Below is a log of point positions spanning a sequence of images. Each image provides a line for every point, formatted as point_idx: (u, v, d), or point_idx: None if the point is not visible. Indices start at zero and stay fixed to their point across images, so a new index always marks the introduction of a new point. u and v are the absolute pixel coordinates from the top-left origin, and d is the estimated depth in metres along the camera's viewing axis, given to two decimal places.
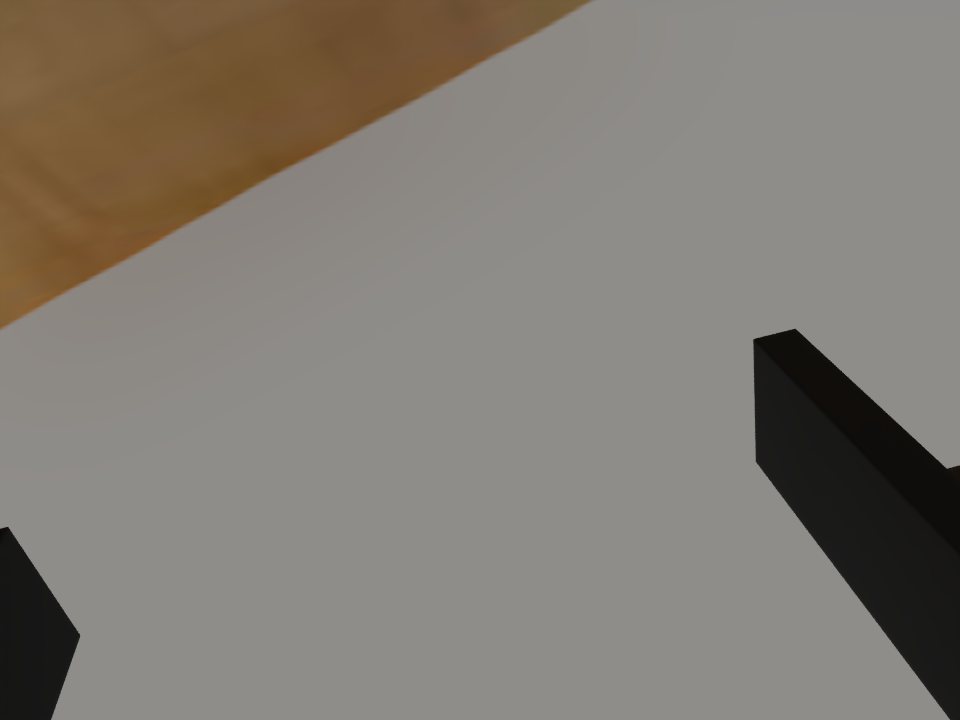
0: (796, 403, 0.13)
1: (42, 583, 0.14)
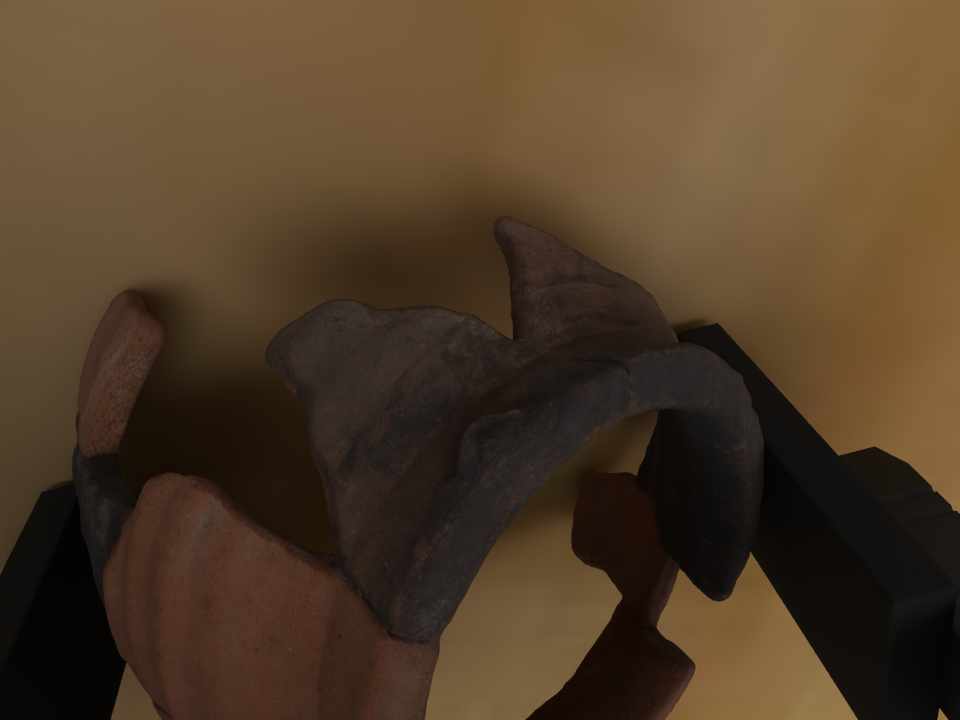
0: None
1: None
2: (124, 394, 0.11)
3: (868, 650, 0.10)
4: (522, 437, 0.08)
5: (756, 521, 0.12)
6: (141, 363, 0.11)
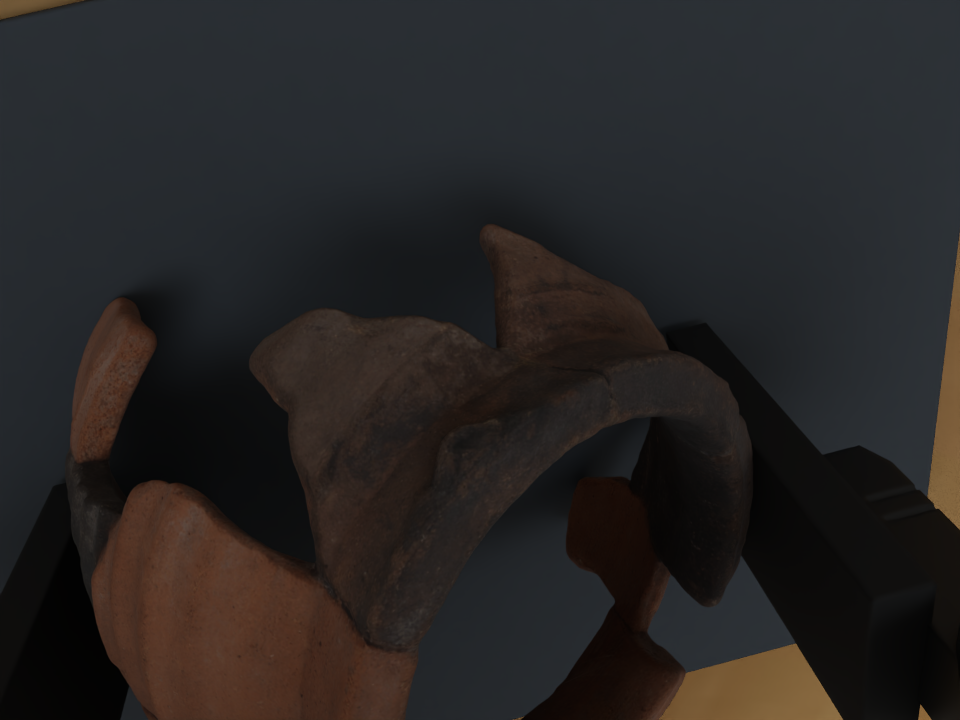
0: None
1: None
2: (115, 401, 0.11)
3: (850, 647, 0.10)
4: (500, 447, 0.08)
5: (746, 527, 0.12)
6: (132, 370, 0.11)
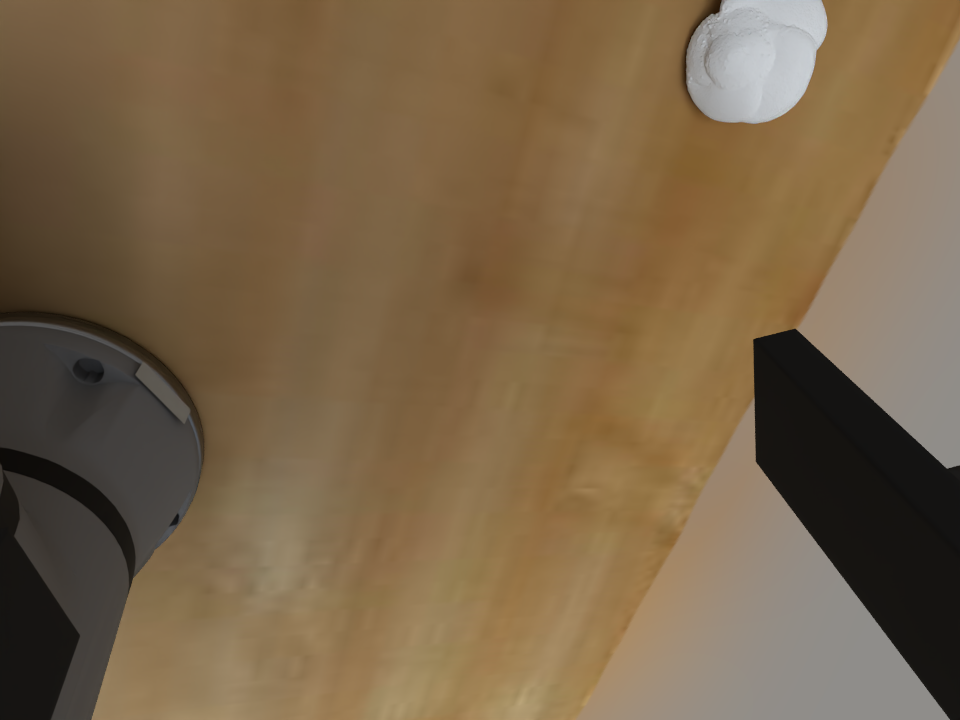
0: (795, 403, 0.13)
1: (42, 583, 0.14)
2: None
3: None
4: None
5: None
6: None
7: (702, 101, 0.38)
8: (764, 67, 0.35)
